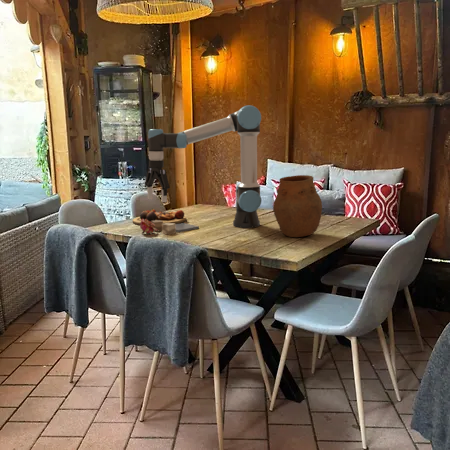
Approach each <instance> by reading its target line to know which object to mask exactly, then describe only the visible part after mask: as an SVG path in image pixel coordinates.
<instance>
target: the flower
mask: <svg viewBox="0 0 450 450" xmlns="http://www.w3.org/2000/svg"><path fill="white" fill-rule="evenodd" d="M139 223H141V225H139V228H140V230H142V231H141V235H143V234H145V233H146V234H147V235H152V234H153V233H154V232H157V231H156V230H157V229H155V224H153V223H152V222H151V221H148V220H147V219H145V220H144V219H143V218H142V219H141V222H139ZM153 227H154V228H153ZM154 230H155V231H154Z"/></svg>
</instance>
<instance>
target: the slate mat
mask: <svg viewBox="0 0 450 450" xmlns="http://www.w3.org/2000/svg"><path fill="white" fill-rule="evenodd" d="M175 226H176V233H181V232H183V233H184V232H189V231H193V230H198V229H200V226H199V225H195V224H189V223H185V222H182V223H179V224H175Z"/></svg>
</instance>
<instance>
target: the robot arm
mask: <svg viewBox="0 0 450 450" xmlns="http://www.w3.org/2000/svg"><path fill="white" fill-rule="evenodd" d="M261 121H262V113H261V112H260V110H259V108H257V107H256V106H254V105H251V104H250V105H249V104H248V105H244V106H242V107H241V108H240V109H239V110H237V111H234V112H233V113H230V114H228V116H227V117H223V118H221V119H217V120H215V121H211V122H208V123H205V124H200V125H199V126H198V125H197V126H196V127H192V128H189V129H186V130H184V131H179V132H177V133H175V132H172V133H171V132H169V133H166V132H164V129H160V128H157V129H156V128H152V129H148V136H147V137H148V138H147V140H148V141H147V142H148V144H147V145H148V159H149V161H148V168H147V174H146V177H145V181H144V186H146V188H147V200H153V199H154V190H153V189H154V188H153V184H154V182H155V180H156V179H157V180H158V182H159V184H160V186H161V203H167V202H168V189H170V188H171V185H170V183H169V180H168V176H167V171H166V169H163V168H164V167H165V165H164V164H165V162H164V158H165V157H164V149H186V148H187V146H188V145H190V144H194V143H197V142H201V141H203V140H207V139H210V138H213V137H215V136H220V135H223V134H225V133H228V132H231V131H232V132H234V133H235V132H236V133H237V135H239V137H240V145H239V146H240V183H239V184H237V185H236V188H235V193H236V194H235V200H236V201H235V208H236V209H235V210H236V212H235V215H234V219H233V221H232V223H233V224H232V225H233V227H236V228H241V229H242V228H243V229H245V228H246V229H250V228H258V227H260V225H261V224H260V223H261V221H260V219H259V215H258V209H259V208H260V207H261V204H262V196H261V185H260V184H259V182H258V135H259V134H260V133H261V132H260V131H261Z"/></svg>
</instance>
